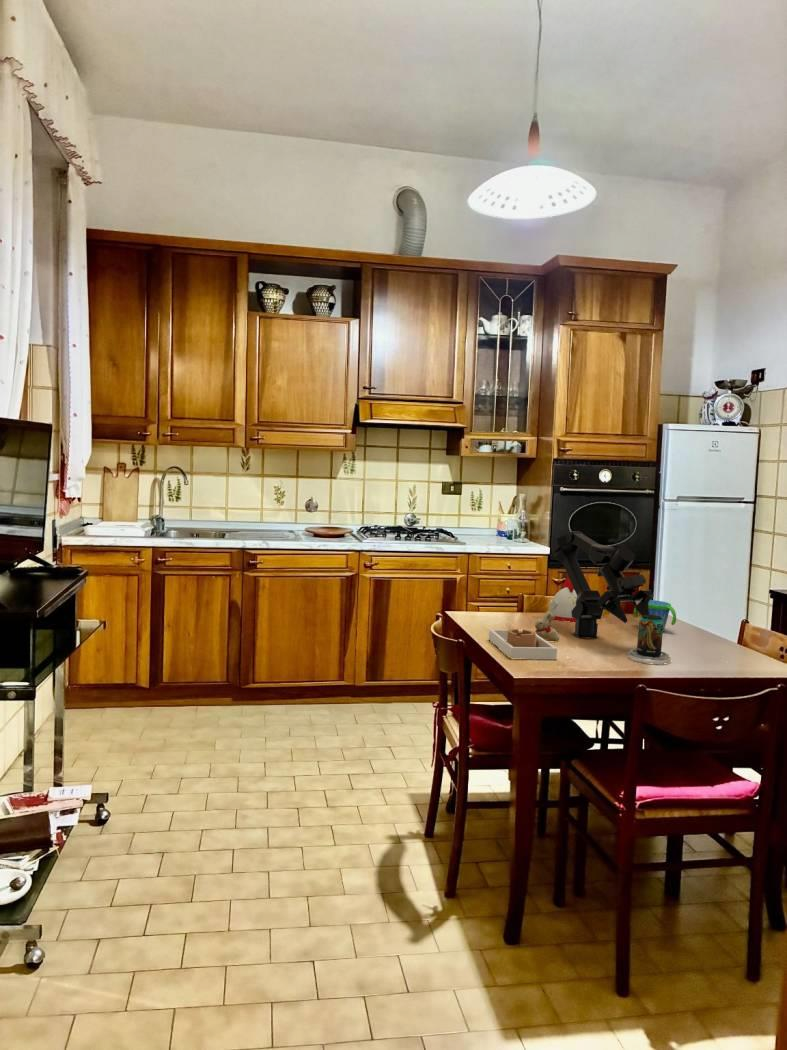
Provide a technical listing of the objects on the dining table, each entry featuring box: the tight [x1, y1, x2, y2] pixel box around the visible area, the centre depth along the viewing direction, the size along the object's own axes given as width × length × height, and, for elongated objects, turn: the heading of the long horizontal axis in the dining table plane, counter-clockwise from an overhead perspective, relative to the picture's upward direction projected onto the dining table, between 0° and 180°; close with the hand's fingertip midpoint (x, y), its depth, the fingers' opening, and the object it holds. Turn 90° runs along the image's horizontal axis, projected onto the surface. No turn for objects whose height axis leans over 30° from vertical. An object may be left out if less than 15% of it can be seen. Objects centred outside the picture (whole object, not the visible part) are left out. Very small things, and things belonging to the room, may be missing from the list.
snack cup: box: [633, 599, 677, 632], centre depth 278 cm, size 16×10×10 cm
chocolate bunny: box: [534, 611, 560, 642], centre depth 252 cm, size 6×8×10 cm
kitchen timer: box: [547, 578, 577, 623], centre depth 292 cm, size 14×14×15 cm
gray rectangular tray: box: [488, 629, 558, 660], centre depth 237 cm, size 14×24×4 cm, turn 8°
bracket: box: [507, 628, 537, 647], centre depth 237 cm, size 18×8×7 cm, turn 166°
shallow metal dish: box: [627, 647, 672, 664], centre depth 233 cm, size 12×12×2 cm
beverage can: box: [636, 615, 664, 657], centre depth 233 cm, size 7×7×12 cm
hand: (637, 621), depth 238 cm, fingers open, 9 cm apart
